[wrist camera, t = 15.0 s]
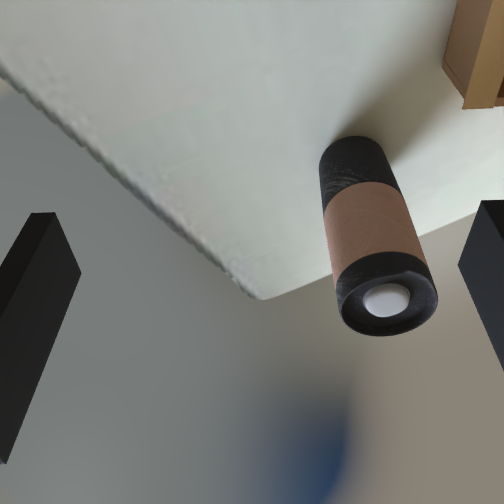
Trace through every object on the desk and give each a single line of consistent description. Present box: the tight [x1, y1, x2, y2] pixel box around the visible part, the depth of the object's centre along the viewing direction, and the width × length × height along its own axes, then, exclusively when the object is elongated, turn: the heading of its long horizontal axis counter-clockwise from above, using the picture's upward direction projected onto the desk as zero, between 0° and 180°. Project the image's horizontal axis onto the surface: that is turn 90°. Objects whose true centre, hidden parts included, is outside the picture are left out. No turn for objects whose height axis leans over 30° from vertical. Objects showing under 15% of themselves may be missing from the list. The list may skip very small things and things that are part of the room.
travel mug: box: [319, 136, 438, 336], centre depth 42 cm, size 8×8×20 cm
